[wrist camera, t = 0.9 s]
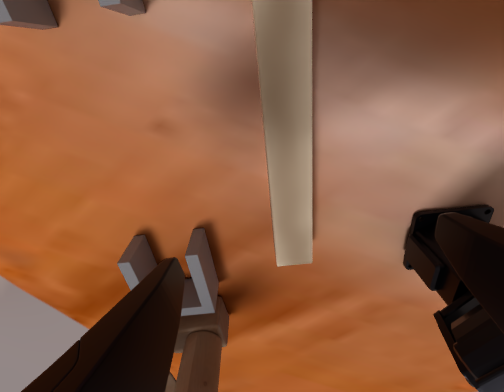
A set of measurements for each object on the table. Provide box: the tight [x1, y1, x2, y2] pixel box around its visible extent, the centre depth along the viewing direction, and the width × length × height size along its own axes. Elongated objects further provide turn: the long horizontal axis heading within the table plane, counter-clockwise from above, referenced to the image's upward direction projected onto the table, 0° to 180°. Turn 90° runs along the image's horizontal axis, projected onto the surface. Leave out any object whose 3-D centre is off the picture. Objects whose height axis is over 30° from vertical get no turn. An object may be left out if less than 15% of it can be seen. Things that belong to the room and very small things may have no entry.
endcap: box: [117, 228, 219, 316], centre depth 23 cm, size 6×7×4 cm
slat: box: [251, 0, 312, 266], centre depth 18 cm, size 3×22×3 cm, turn 6°
